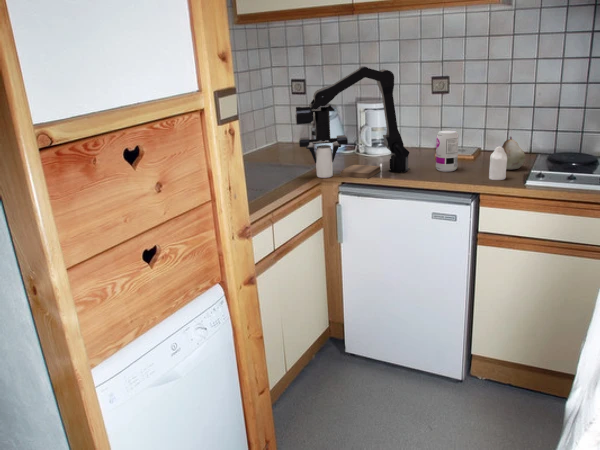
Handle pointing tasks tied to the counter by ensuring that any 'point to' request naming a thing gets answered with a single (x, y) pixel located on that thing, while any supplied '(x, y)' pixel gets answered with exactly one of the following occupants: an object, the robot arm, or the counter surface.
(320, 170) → the can
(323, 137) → the robot arm
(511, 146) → the fruit
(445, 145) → the supplement can
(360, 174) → the base
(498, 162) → the white bottle
